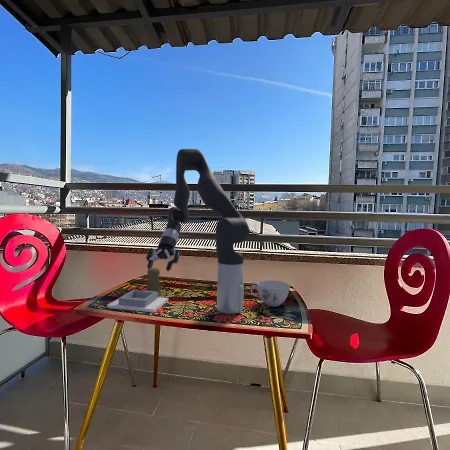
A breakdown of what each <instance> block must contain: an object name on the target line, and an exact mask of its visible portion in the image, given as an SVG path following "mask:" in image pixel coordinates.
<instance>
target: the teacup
mask: <svg viewBox="0 0 450 450" xmlns="http://www.w3.org/2000/svg"><path fill="white" fill-rule="evenodd" d="M254 289H255V290H256V292H258V295H257V294H256V293H254V292H253V290H254ZM290 289H291V285H290V284H289V283H287V282H284V281H282V280H281V281H280V280H275V279H273V280H272V279H271V280H270V279H269V280H268V279H267V280H260V281H259V282H257V283H256V285H255V284H254V285H253V284H252V285H251V286H250V290H249V291H250V293H251V295H252V296H253V297H256V298H259V299H261V300H262V302H264V303H265V305H267V306H270V307H279V306H281V304H282V303H284V302H285V300H286V299H287V297H288V295H289V292H290Z"/></svg>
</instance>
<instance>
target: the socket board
mask: <svg viewBox="0 0 450 450" xmlns="http://www.w3.org/2000/svg"><path fill="white" fill-rule="evenodd" d="M167 302H169V297H159V296H158V292H154V291H147V290H139V289H132V290H131V291H129V292H127V293H125V294H123V295H121V296H120V297H118V298H117V299H116V300H114V301H112V302H110V303H108V304H107V305H106V306H107V307H106V308H108V309H116V310H117V309H118V310H126V311H127V310H129V311H135V312H136V311H138V312H146V313H156V311H157V310H159V309H160V308H161V307H162V306H164V305H165V304H166V303H167Z"/></svg>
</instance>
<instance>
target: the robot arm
mask: <svg viewBox="0 0 450 450" xmlns="http://www.w3.org/2000/svg"><path fill="white" fill-rule="evenodd" d="M175 162H176V163H175V167H176V168H175V190H174V191H175V192H174V195H173V196H174V197H173V205H174V206H171V207H170V208H169V209H168V211H167V223H166V227H165V229H164V231H163V232H162V234H161V237H160V240H159V242H158V245H157V248H156V249H154V248H153V247H150V248H149V251H148V253H147V254H146V257H145V259H146V260H147V262H148V263H147V265H146V267H147V269H150V268H153V265H154V263H155V262H156V261H159V260H167V259H168V262H167V264H166V268H165V270H166V271H167V272H170V271H171V269H172V266H173V265H174V264H178V262H179V258H180V255H181V253H180V251H179V250H180V249H178V248H177V249H175V248H176V246H177V244H178V241H179V236H180V233H181V229H182V224H185V223H187V222H188V220H189V217H190V215H189V214H190V213H189V200H190V196H191V192H190V188H189V185H188V183H187V181H186V179H185V174H186V173H185V172H186V171H187V172H188V171H196V172H197V173H198V175H199V176H198V177H199V178H198V181H197V184H196V190H197V193H198V195H199V197H200V199H201V200H202V202H203V204H205V206H207V207H208V208H209V209H210V210H211V211H213V212H215V213H216V214H217V215H219V217H221V218H219V220H217V223H216V226H215V252H216V257H217V279H216V280H217V281H216V286H217V287H216V290H217V291H216V310H217V311H218V313H221V314H228V315H233V314H241V313H242V311H243V309H244V294H245V293H244V292H245V291H244V290H245V289H244V288H245V286H244V285H245V284H244V281H243V280H244V255H243V254H242V253H240V252H237V251H236V250H235V249H234V248H235V247H234V244H241V243H244V242H247V240H248V239H249V238H250V227H249V225H248V222H247V221H246V219H245V218H244V217H243V216H242V214H241V213H240V211H238V209H237V208H236V207H235V206H234V204H233V203H232V202H231V199H230V198H229V197H228V195H227V194H226V192H225V190H224V189H223V187H222V186H221V184H220V182H219V181H218V179H217V178H216V177H215V175H214V174H213V172H212V170H211V168H210V166H209V164H208V162H207V160H206V158H205V156H204V154H203V153H202V151H201V150H200V149H198V148H197V149H196V148H181V149H179V150H178V151H177V155H176V161H175ZM172 256H174V257H173V259H172Z"/></svg>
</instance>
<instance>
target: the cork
mask: <svg viewBox="0 0 450 450" xmlns="http://www.w3.org/2000/svg"><path fill="white" fill-rule="evenodd" d="M147 269H148V268H147ZM146 272H147V277H148V278H147V286H146V291H154V292H158V297H159V296H160V295H161V294H162V293H161V285H160V284H161V283H160V275H161V271H160V269H159V268H157V267H152V268H150V269H148V270H147V271H146Z"/></svg>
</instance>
